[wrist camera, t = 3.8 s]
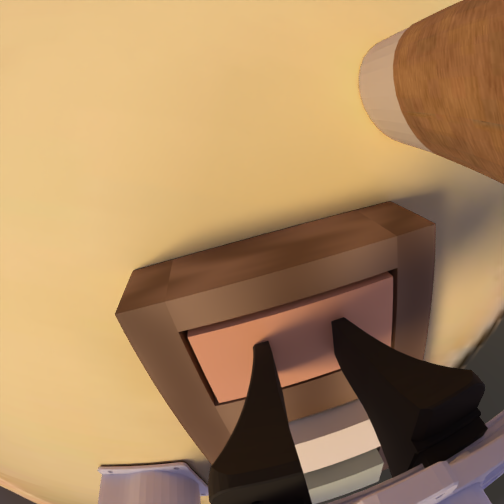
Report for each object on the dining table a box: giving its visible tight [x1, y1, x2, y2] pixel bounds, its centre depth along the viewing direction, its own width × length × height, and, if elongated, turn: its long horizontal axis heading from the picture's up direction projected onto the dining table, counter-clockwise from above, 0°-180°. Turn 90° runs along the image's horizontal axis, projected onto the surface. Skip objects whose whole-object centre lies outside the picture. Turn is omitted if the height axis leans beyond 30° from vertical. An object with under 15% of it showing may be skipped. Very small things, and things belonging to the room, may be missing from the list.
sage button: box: [304, 448, 384, 504], centre depth 20 cm, size 9×4×4 cm, turn 103°
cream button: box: [289, 399, 381, 473], centre depth 17 cm, size 9×4×4 cm, turn 103°
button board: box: [115, 201, 436, 471], centre depth 18 cm, size 14×24×4 cm, turn 13°
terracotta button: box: [188, 272, 393, 403], centre depth 15 cm, size 9×4×4 cm, turn 103°
